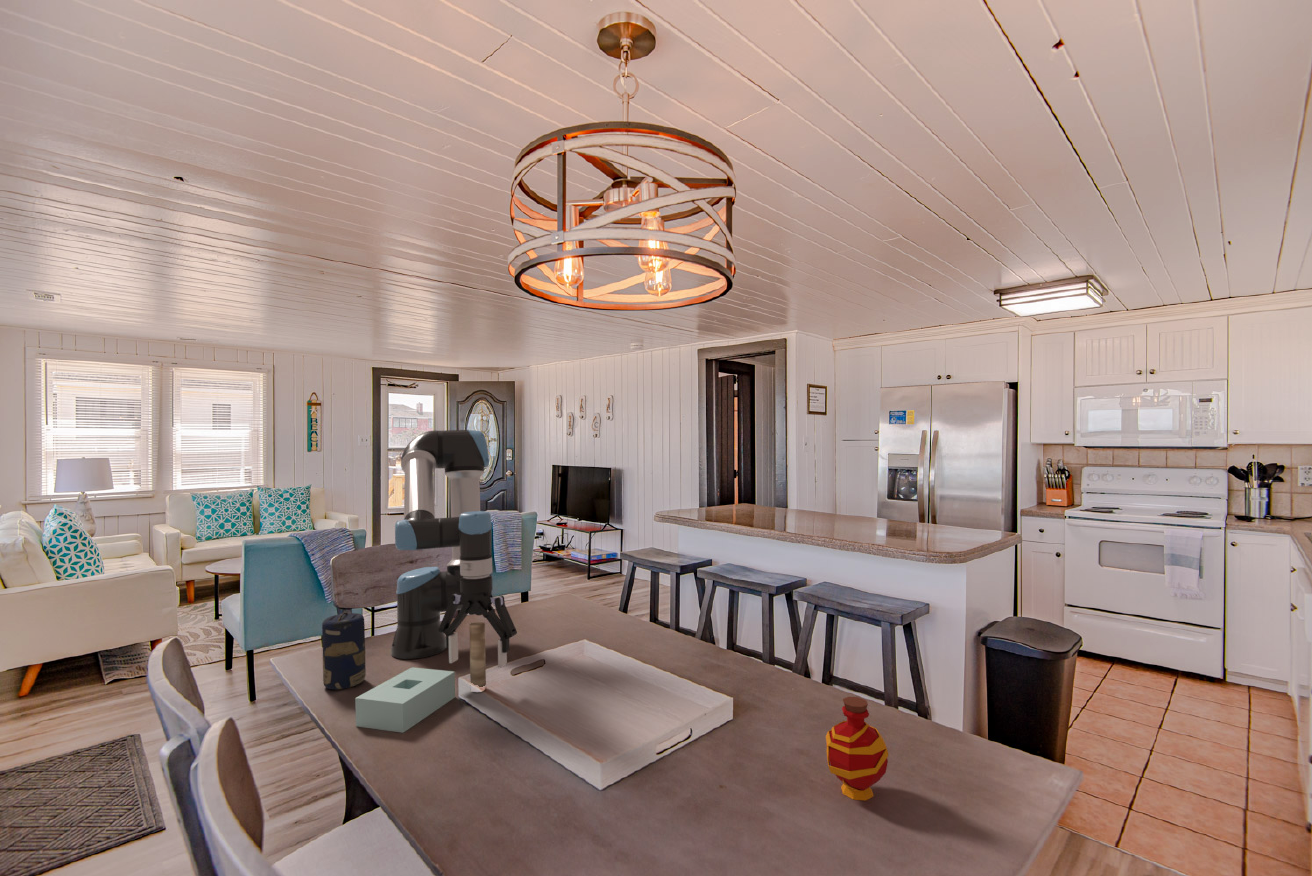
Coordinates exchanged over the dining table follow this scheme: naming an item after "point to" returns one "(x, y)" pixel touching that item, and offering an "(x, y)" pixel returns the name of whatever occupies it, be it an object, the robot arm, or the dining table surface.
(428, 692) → the socket block
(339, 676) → the canister
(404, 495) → the robot arm
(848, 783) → the potion bottle
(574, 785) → the dining table surface
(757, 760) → the dining table surface
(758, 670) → the dining table surface
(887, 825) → the dining table surface
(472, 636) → the peg
